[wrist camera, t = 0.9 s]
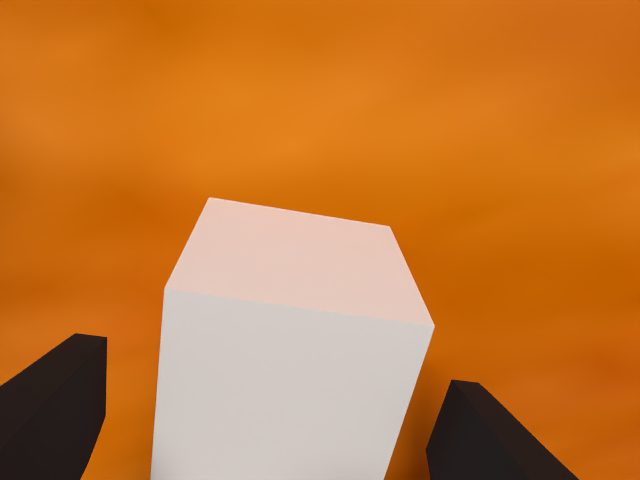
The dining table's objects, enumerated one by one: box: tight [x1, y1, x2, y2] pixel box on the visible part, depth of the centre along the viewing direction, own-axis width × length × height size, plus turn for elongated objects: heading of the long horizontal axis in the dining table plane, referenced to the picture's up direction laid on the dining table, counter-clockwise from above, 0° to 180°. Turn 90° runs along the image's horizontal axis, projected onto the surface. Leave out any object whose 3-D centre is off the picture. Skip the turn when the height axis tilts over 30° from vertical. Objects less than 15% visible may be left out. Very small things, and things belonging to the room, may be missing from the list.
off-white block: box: [150, 197, 435, 480], centre depth 12 cm, size 5×5×5 cm
